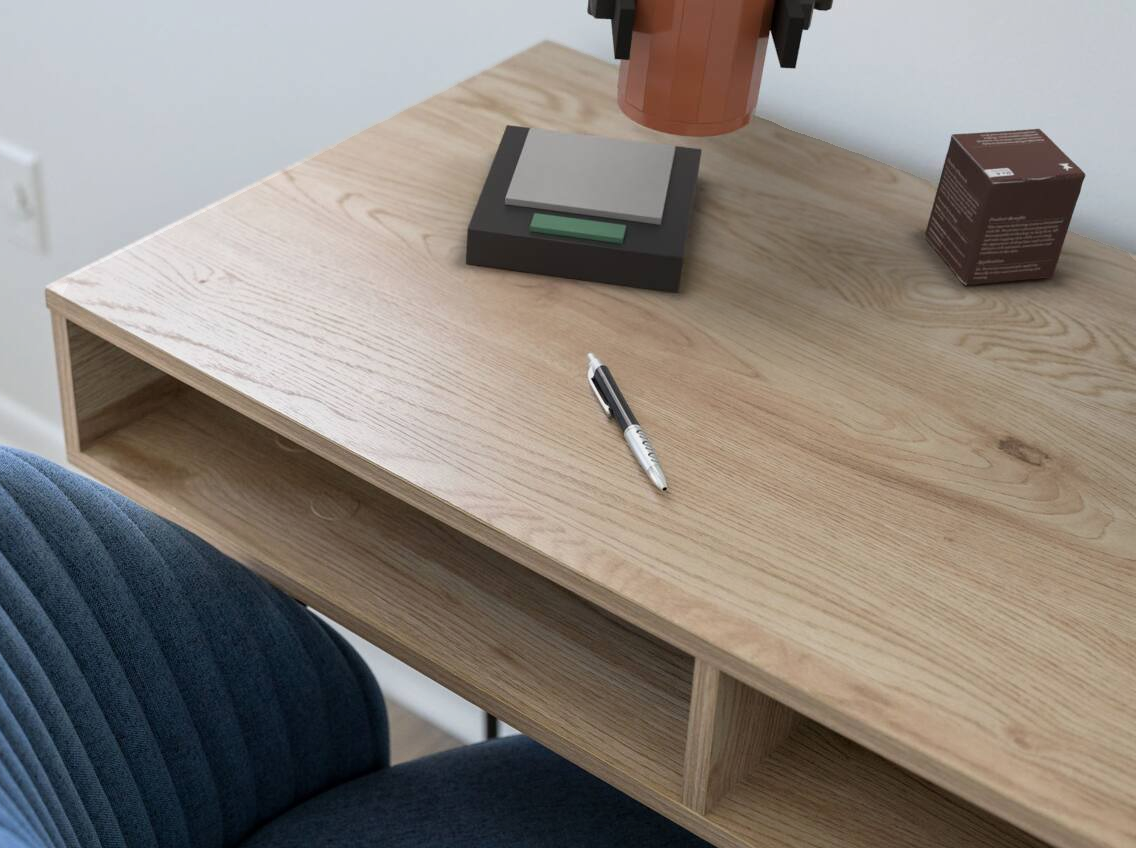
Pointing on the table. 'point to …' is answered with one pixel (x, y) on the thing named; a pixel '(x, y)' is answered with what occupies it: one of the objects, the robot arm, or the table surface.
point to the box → (1003, 206)
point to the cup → (695, 65)
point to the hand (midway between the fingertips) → (708, 38)
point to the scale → (586, 208)
